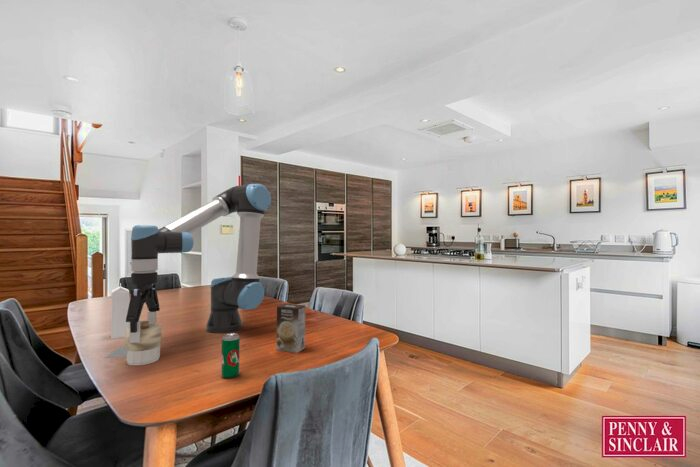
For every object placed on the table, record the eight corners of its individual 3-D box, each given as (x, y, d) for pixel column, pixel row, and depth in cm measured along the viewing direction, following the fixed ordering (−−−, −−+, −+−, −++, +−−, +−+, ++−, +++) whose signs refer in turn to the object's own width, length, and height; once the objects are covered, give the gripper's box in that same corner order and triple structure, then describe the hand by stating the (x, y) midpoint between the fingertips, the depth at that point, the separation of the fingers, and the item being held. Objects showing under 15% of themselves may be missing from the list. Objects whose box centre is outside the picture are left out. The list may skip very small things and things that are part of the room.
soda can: (224, 372, 102) (224, 332, 103) (241, 371, 103) (241, 332, 103) (219, 379, 97) (219, 337, 98) (237, 378, 98) (237, 337, 98)
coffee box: (275, 350, 123) (275, 306, 123) (284, 345, 129) (284, 303, 129) (297, 353, 120) (298, 308, 120) (305, 347, 126) (306, 304, 126)
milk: (111, 340, 134) (111, 284, 135) (110, 336, 139) (110, 283, 139) (129, 337, 138) (129, 283, 138) (128, 333, 143) (128, 281, 143)
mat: (156, 345, 127) (156, 344, 127) (143, 356, 116) (143, 355, 116) (121, 347, 125) (121, 346, 125) (104, 358, 113) (104, 357, 113)
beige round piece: (165, 340, 117) (165, 317, 117) (154, 350, 107) (154, 325, 107) (133, 342, 115) (134, 319, 115) (119, 352, 105) (119, 326, 106)
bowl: (163, 355, 116) (163, 341, 117) (153, 365, 108) (153, 349, 108) (134, 357, 115) (134, 342, 115) (121, 367, 106) (121, 351, 106)
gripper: (147, 268, 123) (146, 326, 123) (113, 276, 99) (112, 348, 98) (169, 268, 125) (168, 325, 124) (141, 275, 100) (140, 347, 100)
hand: (143, 336), depth 111 cm, fingers open, 13 cm apart
